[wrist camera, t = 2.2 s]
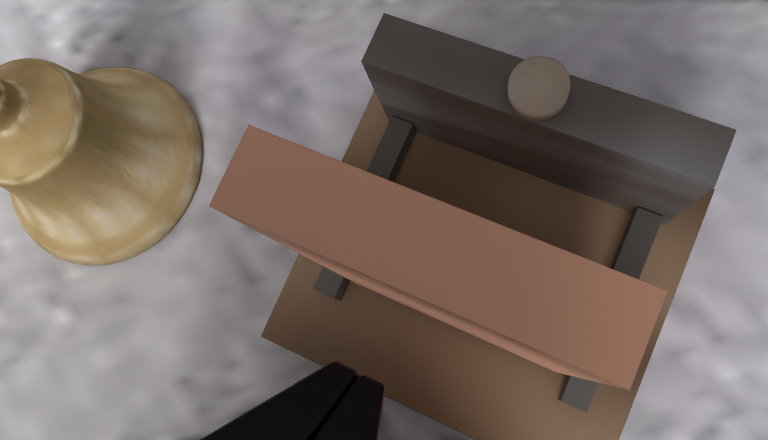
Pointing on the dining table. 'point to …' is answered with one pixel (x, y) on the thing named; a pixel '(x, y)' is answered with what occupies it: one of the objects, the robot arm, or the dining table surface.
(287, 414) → the robot arm
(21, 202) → the hand bell
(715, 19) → the dining table surface
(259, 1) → the dining table surface
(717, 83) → the dining table surface
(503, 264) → the reddish brown rectangular bar
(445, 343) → the switch base
